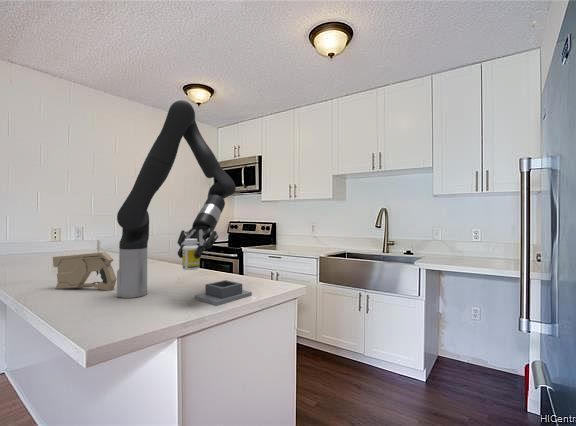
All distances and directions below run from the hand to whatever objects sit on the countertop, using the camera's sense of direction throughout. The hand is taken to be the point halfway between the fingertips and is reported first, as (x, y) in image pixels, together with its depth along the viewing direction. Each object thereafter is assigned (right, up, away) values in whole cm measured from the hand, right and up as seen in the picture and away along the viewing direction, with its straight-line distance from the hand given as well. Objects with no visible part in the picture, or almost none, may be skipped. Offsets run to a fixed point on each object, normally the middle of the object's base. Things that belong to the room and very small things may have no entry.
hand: (188, 256), depth 97 cm
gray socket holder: (+9, -16, +11) cm, 22 cm away
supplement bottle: (0, -4, +2) cm, 5 cm away
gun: (-48, -16, +22) cm, 55 cm away
